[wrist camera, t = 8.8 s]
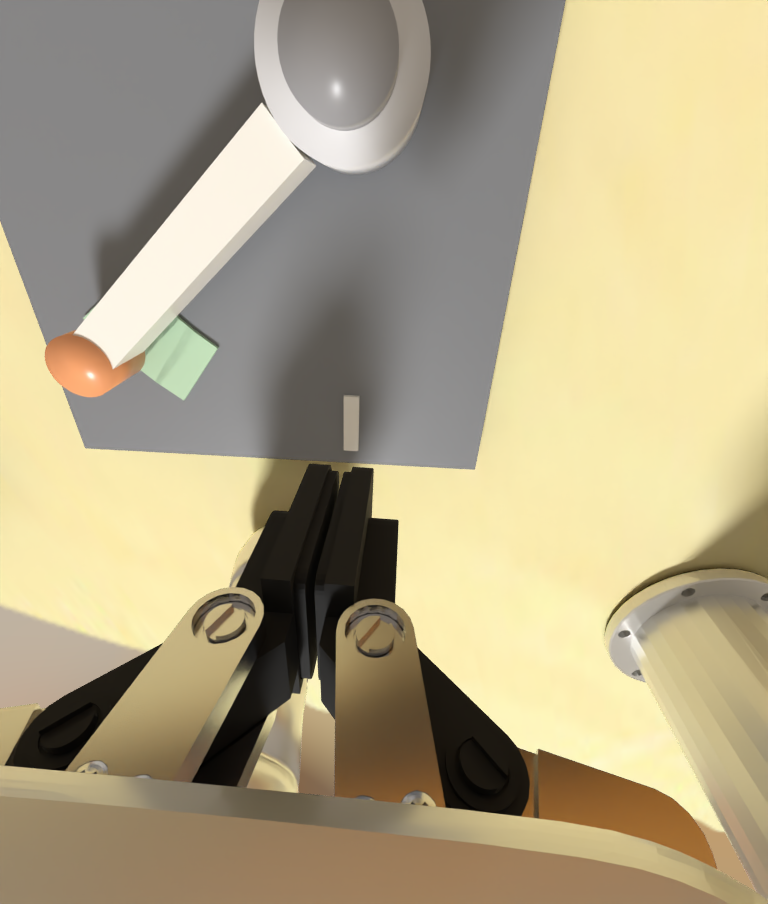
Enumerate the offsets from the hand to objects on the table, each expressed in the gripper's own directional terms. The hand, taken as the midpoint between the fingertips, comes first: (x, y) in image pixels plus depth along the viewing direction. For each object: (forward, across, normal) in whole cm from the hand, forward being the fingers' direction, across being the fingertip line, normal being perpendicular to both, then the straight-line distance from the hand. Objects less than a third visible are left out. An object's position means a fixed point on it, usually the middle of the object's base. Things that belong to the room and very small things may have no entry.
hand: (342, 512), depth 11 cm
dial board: (+12, +5, -5) cm, 14 cm away
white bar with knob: (+10, +6, -6) cm, 14 cm away
